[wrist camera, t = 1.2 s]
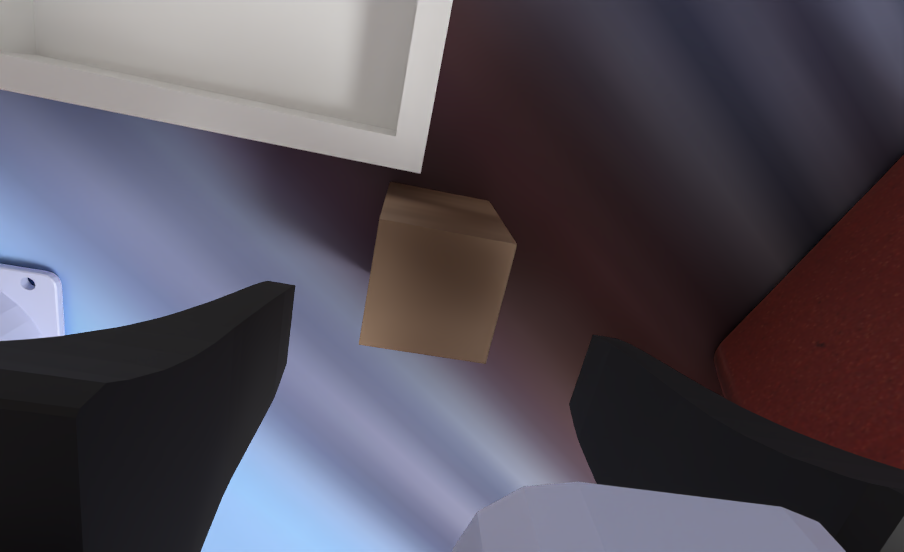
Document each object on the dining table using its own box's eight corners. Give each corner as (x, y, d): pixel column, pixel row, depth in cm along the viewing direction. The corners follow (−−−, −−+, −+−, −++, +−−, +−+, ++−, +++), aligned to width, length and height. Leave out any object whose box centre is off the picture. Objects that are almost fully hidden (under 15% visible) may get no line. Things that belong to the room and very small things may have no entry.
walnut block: (374, 275, 21) (358, 344, 15) (390, 181, 19) (379, 218, 14) (467, 291, 21) (485, 364, 16) (488, 200, 20) (517, 244, 14)
